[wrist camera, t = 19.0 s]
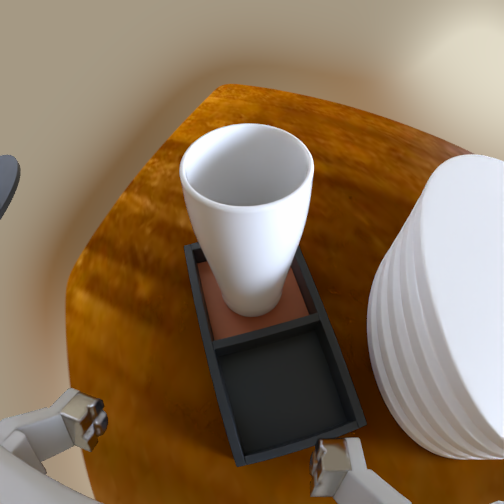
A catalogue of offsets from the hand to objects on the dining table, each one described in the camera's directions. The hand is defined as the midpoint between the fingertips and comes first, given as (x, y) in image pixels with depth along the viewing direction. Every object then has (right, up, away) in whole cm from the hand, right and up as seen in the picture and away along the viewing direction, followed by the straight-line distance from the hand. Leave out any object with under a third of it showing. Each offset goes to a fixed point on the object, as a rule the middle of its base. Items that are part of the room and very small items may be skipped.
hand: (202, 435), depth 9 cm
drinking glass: (+2, +3, +18) cm, 18 cm away
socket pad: (+3, -1, +16) cm, 16 cm away
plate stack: (+26, -2, +15) cm, 30 cm away
